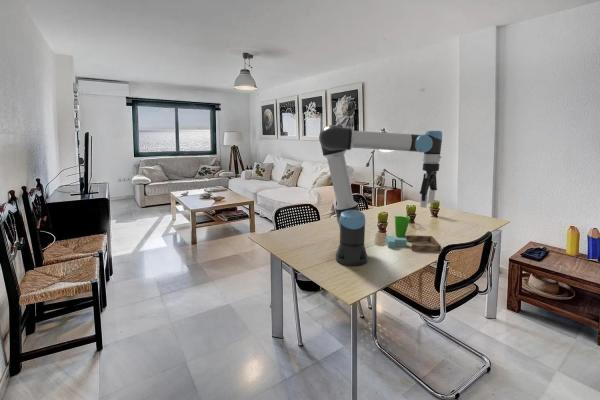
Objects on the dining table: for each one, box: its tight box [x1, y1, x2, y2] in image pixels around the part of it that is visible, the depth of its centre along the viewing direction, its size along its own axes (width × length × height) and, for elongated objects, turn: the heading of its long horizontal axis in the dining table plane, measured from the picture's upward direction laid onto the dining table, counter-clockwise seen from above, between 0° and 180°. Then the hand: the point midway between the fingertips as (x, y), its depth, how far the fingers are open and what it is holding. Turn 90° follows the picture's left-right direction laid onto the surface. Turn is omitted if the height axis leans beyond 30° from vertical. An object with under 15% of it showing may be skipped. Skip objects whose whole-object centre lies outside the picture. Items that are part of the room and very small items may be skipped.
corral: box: [405, 234, 442, 253], centre depth 176 cm, size 14×16×3 cm
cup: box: [394, 215, 411, 238], centre depth 191 cm, size 9×9×11 cm
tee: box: [385, 235, 408, 249], centre depth 177 cm, size 10×10×4 cm
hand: (427, 205), depth 164 cm, fingers open, 13 cm apart
